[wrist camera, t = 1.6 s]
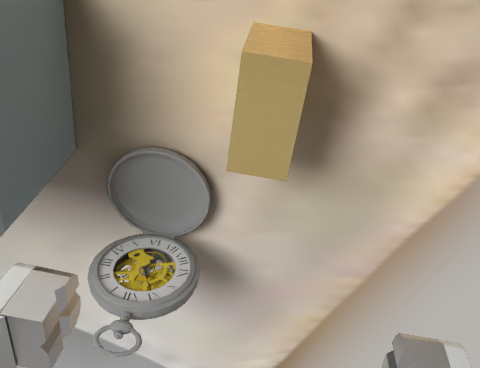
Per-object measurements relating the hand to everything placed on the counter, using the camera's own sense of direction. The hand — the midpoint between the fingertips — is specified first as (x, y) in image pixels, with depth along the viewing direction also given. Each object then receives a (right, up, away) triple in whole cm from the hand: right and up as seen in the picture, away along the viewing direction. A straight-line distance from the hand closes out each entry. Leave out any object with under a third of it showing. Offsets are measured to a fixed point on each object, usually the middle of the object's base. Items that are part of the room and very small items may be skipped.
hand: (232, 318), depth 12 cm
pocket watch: (-5, +2, +19) cm, 20 cm away
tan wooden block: (+2, +9, +13) cm, 16 cm away
